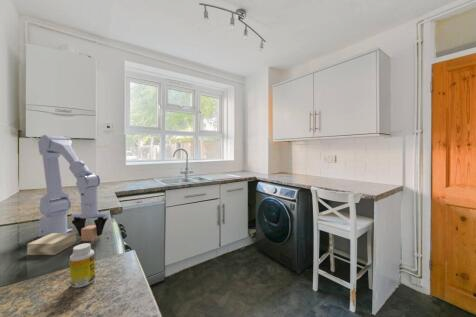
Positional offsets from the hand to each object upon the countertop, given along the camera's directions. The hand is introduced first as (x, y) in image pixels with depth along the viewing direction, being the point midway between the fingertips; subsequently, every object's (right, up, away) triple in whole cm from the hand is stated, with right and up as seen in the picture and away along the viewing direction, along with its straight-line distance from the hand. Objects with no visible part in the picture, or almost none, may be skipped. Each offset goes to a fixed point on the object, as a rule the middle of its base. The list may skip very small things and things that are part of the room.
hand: (90, 235), depth 90 cm
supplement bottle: (+19, -2, -31) cm, 36 cm away
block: (0, -2, 0) cm, 2 cm away
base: (-8, -2, -9) cm, 12 cm away
